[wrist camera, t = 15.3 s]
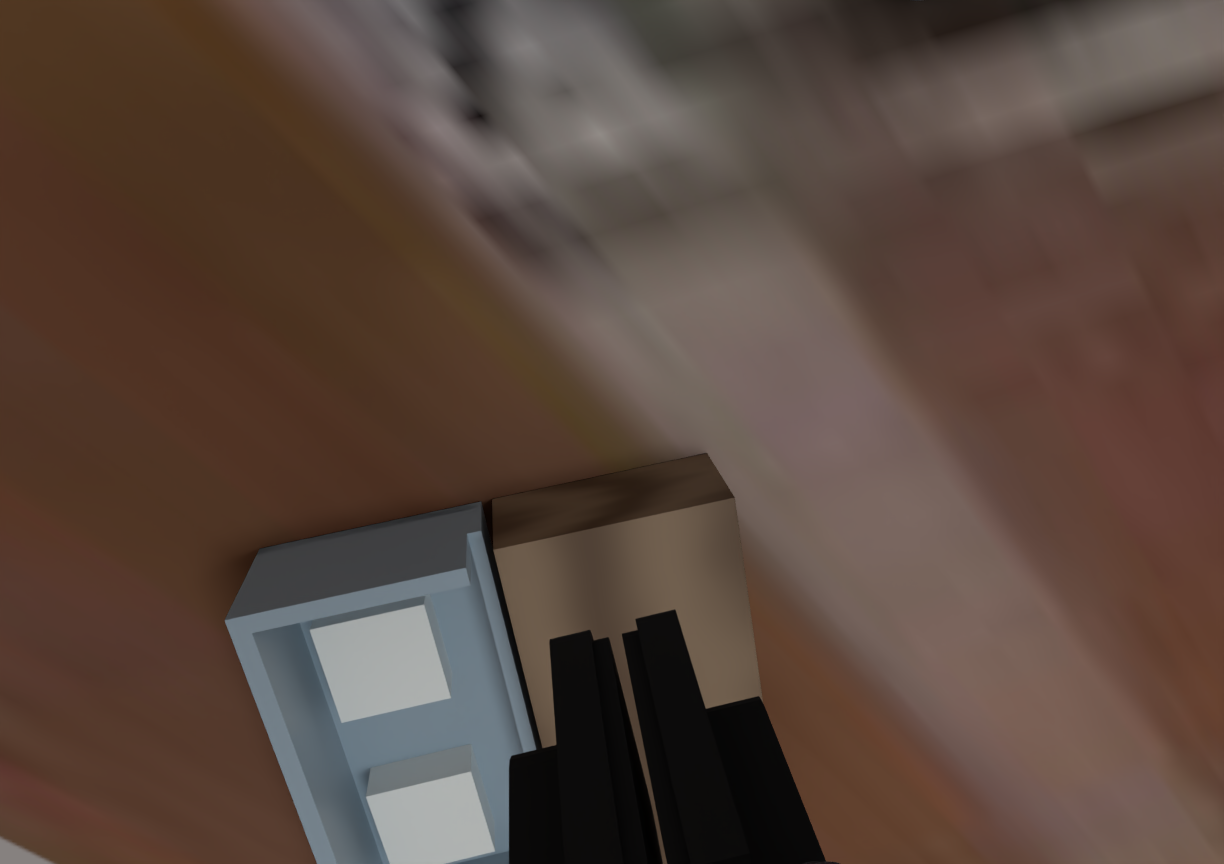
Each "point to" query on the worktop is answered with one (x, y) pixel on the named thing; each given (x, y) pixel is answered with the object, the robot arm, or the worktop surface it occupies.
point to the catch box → (344, 752)
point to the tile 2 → (432, 808)
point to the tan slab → (629, 577)
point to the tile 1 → (383, 658)
